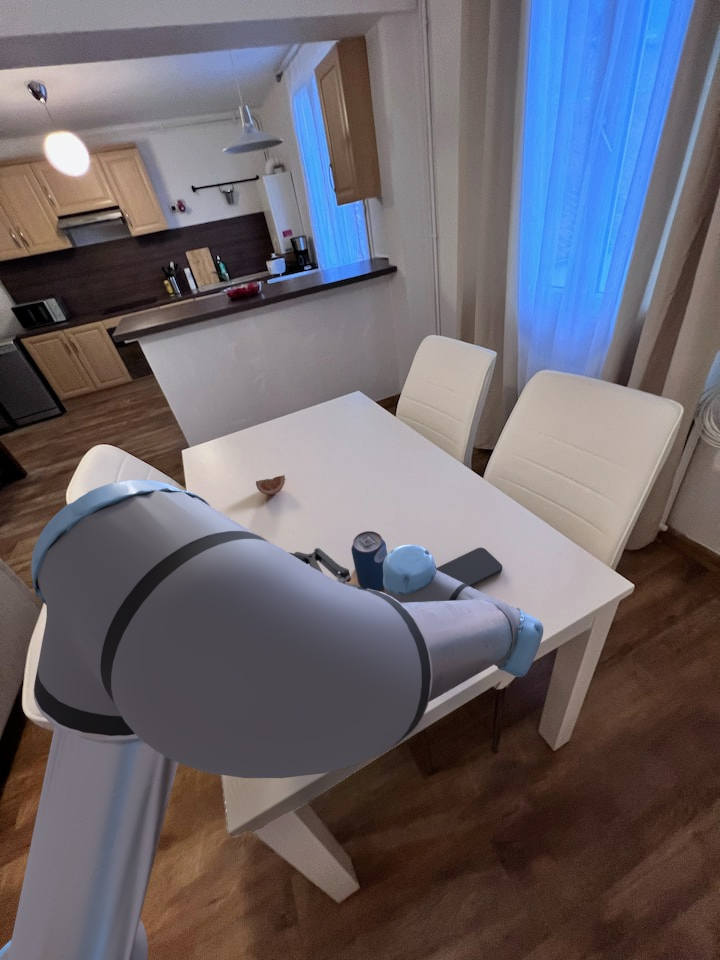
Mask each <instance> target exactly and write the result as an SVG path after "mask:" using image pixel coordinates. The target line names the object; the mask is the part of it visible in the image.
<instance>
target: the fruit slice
mask: <svg viewBox="0 0 720 960" xmlns="http://www.w3.org/2000/svg"><path fill="white" fill-rule="evenodd" d="M286 480H287V479H286V476H285V474H283V475H279V476H278V475H277V476H275V477H273V478H265V479H260V480H257V481H255V485H256V488H257V490H258V491H259V492H260V493H261V494H264V495H271V496H273V495H275V494H278V493H280V492H281V490H283V487H284V486H285V483H286Z"/></svg>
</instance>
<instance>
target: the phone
mask: <svg viewBox="0 0 720 960" xmlns="http://www.w3.org/2000/svg"><path fill="white" fill-rule="evenodd" d="M436 570H438V571H440V572H442V573H444V574H446V575H448V576H450V577H452V578H454V579H456V580H458V581H460V582H462V583H464V584H466V585H468V586H470V587H471V588H473V587H474V586H476V585H478V584H480V583H481V582H483V581H485V580H487V579H489V578H491V577H493V576H496V575H498V574H499V573H501V572H502V571H503V564H502V563H501V562H500V561H499V560H498V559H496V557H494V556H493V554H492V553H490V552H489V550H487V549H486V548H485V547H477V548H475V549H472V550H470V551H468V552H466V553H465V554H463V555H460V556H458V557H457V558H456V557H455V558H454V559H452V560H450V561H448V562H446V563H443V564H441V565H440V566H438V567H437V566H436Z"/></svg>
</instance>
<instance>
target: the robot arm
mask: <svg viewBox="0 0 720 960" xmlns="http://www.w3.org/2000/svg"><path fill="white" fill-rule="evenodd" d="M319 563H320V564H321V565H322V566H323V567H324V568H325V569H327V570H328V572H329V573H331V574H332V575H333V576H334V577H335V578H336V579H337V580H335V579H334V578H332V577H331V576H328V575H327V574H325V573H324V571H323V570H322V568H321V567H320V564H319ZM30 568H31V579H32V584H31V585H32V587H33V589H34V591H35V594H36V596H37V598H38V599H39V600H40V601H42V603H44V604H45V607H46V608H45V609H46V618H45V624H44V630H43V635H42V641H41V646H40V651H39V658H38V663H37V668H36V673H35V679H34V684H33V700H34V704H35V706H36V708H37V710H38V711H39V713H40V714H41V716H42V717H43V718H44V719H45V720H47V721H48V722H49V723H50V724H52V725H53V726H54V728H53V733H52V737H51V743H50V748H49V752H48V756H47V758H48V759H47V763H46V768H45V774H44V776H43V778H44V779H43V782H42V787H41V791H40V798H39V802H38V807H37V812H36V817H35V821H34V827H33V830H32V831H33V832H32V837H31V842H30V847H29V852H28V857H27V862H26V866H25V870H24V876H23V881H22V886H21V891H20V895H19V901H18V906H17V911H16V917H15V922H14V926H13V931H12V936H11V939H10V940H9V941H8V942H7V943H6V944H5V945H4V946H3V947H2V948H1V949H0V960H148V955H149V943H148V937H147V936H148V935H147V931H146V928H145V924H144V923H143V921H142V918H141V916H142V912H143V908H144V905H145V904H144V903H145V900H146V896H147V892H148V888H149V883H150V879H151V875H152V871H153V868H154V863H155V859H156V856H157V851H158V847H159V843H160V840H161V835H162V831H163V827H164V824H165V819H166V814H167V810H168V807H169V802H170V800H171V799H170V798H171V794H172V791H173V787H174V782H175V778H176V774H177V770H178V766H179V764H180V765H182V766H185V767H188V768H190V769H191V768H192V769H195V770H198V771H201V772H205V773H208V774H214V775H221V776H228V777H234V778H241V779H287V778H296V777H305V776H312V775H322V774H327V773H331V772H334V771H338V770H343V769H346V768H350V767H355V766H357V765H359V764H362V763H364V762H367V761H369V760H371V759H374V758H376V757H378V756H379V755H382V754H383V753H385V752H387V751H389V750H390V749H391V748H393V747H395V746H396V745H397V744H399V743H400V742H401V741H403V740H404V739H405V738H406V737H408V736H409V735H410V734H411V733H412V732H413V731H414V730H415V729H416V728H417V727H418V725H419V724H420V722H421V720H422V719H423V717H424V716H425V713H426V712H427V708H428V707H429V703H430V702H432V701H434V700H436V699H438V698H439V697H441V696H442V695H444V694H446V693H447V692H449V691H451V690H453V689H455V688H456V687H458V686H460V685H461V684H463V683H465V682H466V681H469V680H470V679H472V678H474V677H476V676H477V675H478V674H481V673H482V672H484V671H485V670H487V669H489V668H490V667H492V666H495V667H497V669H498V670H500V671H504V672H506V673H508V674H510V675H511V676H514V677H516V678H522V677H524V676H526V675H527V674H528V672H529V671H530V668H531V666H532V664H533V662H534V661H535V658H536V656H537V653H538V651H539V648H540V646H541V642H542V639H543V636H544V625H543V624H542V622H541V620H539V619H538V618H535V617H533V616H532V615H530V614H528V613H526V612H525V611H523V610H522V609H521V608H519V607H514V606H512V605H510V604H507V603H506V602H503V601H501V600H500V599H497V598H495V597H493V596H491V595H488V594H486V593H484V592H482V591H480V590H478V589H476V588H473V587H470V586H468V585H466V584H464V583H462V582H460V581H458V580H456V579H454V578H452V577H450V576H448V575H446V574H444V573H442V572H440V571H438V570H436V568H437V565H436V562H435V558H434V556H433V555H432V554H431V552H430V551H429V550H428V549H427V548H425V547H424V546H421V545H418V544H411V543H410V544H402V545H399V546H396V547H395V548H393V549H392V550H390V551H389V552H387V556H386V557H385V559H384V562H383V585H384V588H385V593H383V592H379V591H376V590H372V589H364V588H363V587H360V586H356V585H352V584H348V582H349V581H350V580H351V573H350V569H348V568H347V567H343V566H341V565H339V564H338V563H337V562H336V561H335V560H334V559H333V558H332V557H330V555H328V554H327V553H326V552H325V551H323V550H322V549H321V548H320V547H316V548H314V550H313V552H311V553H304V552H301V551H295V552H289V551H287V550H286V549H284V548H282V547H280V546H278V545H277V544H274V543H272V542H270V541H269V540H267V539H266V538H264V537H262V536H260V535H258V534H257V533H255V532H253V531H251V530H250V529H248V528H247V527H245V526H243V525H242V524H240V523H238V521H236V520H234V519H232V518H230V517H229V516H228V515H225V514H224V513H222V512H220V511H219V510H217V509H216V508H214V507H212V506H211V504H209V503H208V502H207V501H206V500H205V499H204V498H202V497H201V496H199V495H198V494H195V493H193V492H191V491H188V490H183V489H180V488H178V487H176V486H174V485H171V484H169V483H167V482H163V481H158V480H153V479H127V480H120V481H116V482H112V483H111V482H110V483H108V484H104V485H102V486H99V487H97V488H94V489H92V490H89V491H87V493H85V494H83V495H81V496H79V497H78V498H77V499H75V500H74V501H73V502H71V503H68V504H66V505H65V506H63V508H61V509H60V510H59V511H58V512H57V513H56V514H55V515H54V516H53V517H52V518H51V519H50V520H49V521H48V522H47V524H46V525H45V527H44V528H43V529H42V531H41V532H40V534H39V536H38V538H37V540H36V543H35V544H34V548H33V551H32V555H31V566H30Z"/></svg>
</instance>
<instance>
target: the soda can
mask: <svg viewBox="0 0 720 960" xmlns="http://www.w3.org/2000/svg"><path fill="white" fill-rule="evenodd" d="M382 537H383V536H381V534H379V533H378V532H376V531H371V530H368V531H363V532H360V533H359V534H357V535H356V536H355V537H354V539H353V541H352V545H351V555H352V560H353V565H354V570H356V575H357V580H358V583H359V585H360V586H361V587H363V588H364V589H372V590H376V591H381V590H383V589H384V585H383V562H384V559H385V557H386V556H387V555H388V550H387V544H386V542H385V540H384V539H383V538H382Z"/></svg>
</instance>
